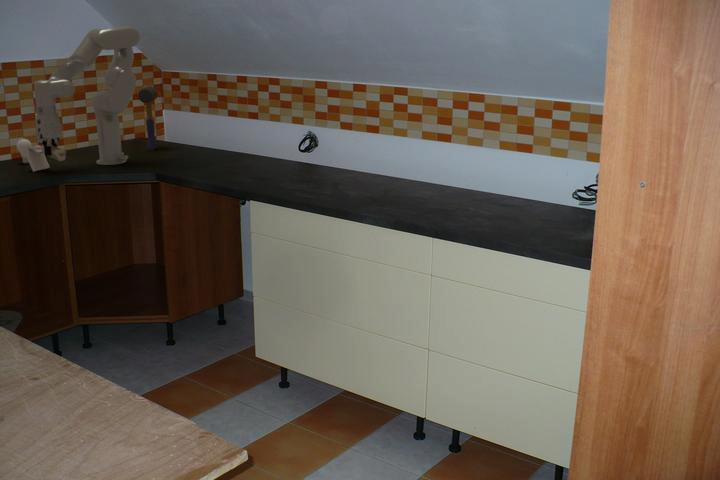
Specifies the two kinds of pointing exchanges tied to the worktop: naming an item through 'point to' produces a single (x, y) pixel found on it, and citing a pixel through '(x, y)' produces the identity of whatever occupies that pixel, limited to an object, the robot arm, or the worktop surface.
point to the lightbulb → (23, 148)
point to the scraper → (55, 151)
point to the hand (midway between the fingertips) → (51, 154)
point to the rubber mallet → (149, 112)
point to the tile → (37, 160)
